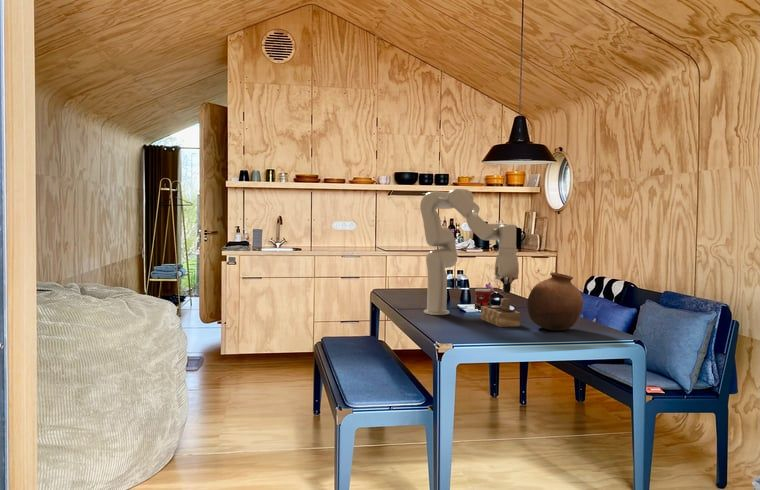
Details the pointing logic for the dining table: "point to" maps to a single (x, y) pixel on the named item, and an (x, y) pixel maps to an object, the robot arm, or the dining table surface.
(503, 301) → the walnut peg
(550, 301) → the pottery
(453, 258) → the robot arm
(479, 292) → the canned food
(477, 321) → the dining table surface
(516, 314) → the oak block
